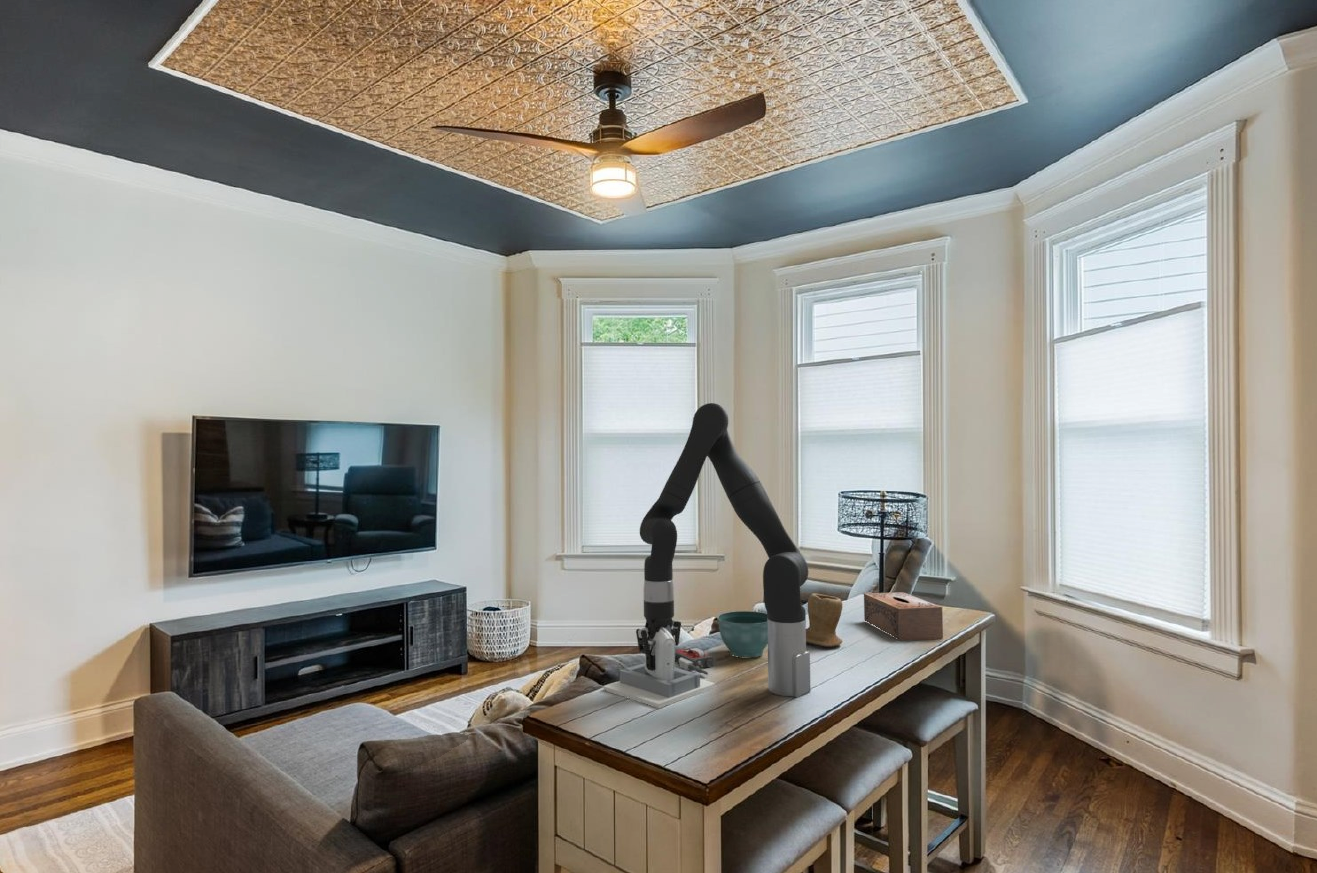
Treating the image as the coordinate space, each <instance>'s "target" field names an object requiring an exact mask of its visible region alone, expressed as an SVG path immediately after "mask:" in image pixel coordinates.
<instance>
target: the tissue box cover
mask: <svg viewBox="0 0 1317 873" xmlns="http://www.w3.org/2000/svg"><path fill="white" fill-rule="evenodd" d="M863 610H864V611H863V613H864V615H863V616H864V617H863V618H864V620H865V621H867V622H869V623H870V624H873V625H875V626H876V627H878V628H880V629H881V630H883V631H885V632H887V633H889V634H891V635H892V636H894V637H895V638H897V639H898V640H897V639H896V640H897V641H915V640H916V641H917V640H918V641H919V640H920V641H921V640H922V639H923V640H936V639H935V638H943V639H944V629H943V628H944V626H943V625H944V623H943V622H944V621H943V619H944V618H943V617H944V615H943V606H940V605H938V604H935V603H933V602H929V601H927V600H925V599H922V598H920V597H916V596H914V595H911V594H909V593H906V592H904V591H901V592H873V593H872V592H871V593H870V592H869V593H867V592H866V593H863ZM892 636H891V637H892ZM894 637H893V638H894ZM895 638H894V639H895Z"/></svg>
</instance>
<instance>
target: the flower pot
mask: <svg viewBox="0 0 1317 873" xmlns="http://www.w3.org/2000/svg"><path fill="white" fill-rule="evenodd" d="M716 617H717V622H718V629H719V635H720V637H721V640H722V642H723V643H724V645H725V646H726V648H727V649H728V651H729V652H728V653H729V654H731V655H730V656H732V655H734V656H738V657H748V658H747V659H752V658H751V657H756V658H759V656H760V657H762V655H763V653H764V650H765V648H766V647H768V624H767V612H763V611H761V612H760V611H751V610H739V611H738V610H736V611H727V612H723V613H720V614H719V615H718V616H716ZM734 656H733V657H734ZM738 657H737V658H738ZM749 657H750V658H749Z"/></svg>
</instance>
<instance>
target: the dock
mask: <svg viewBox="0 0 1317 873" xmlns="http://www.w3.org/2000/svg"><path fill="white" fill-rule="evenodd" d="M714 687H715V688H716V683H714V682H712V681H708V680H704V679H701V673H698V672H693V671H690V670H688V671H687V670H685V669H683V668H678V667H675V668H674V680H671V681H666V680H663V679H659V678H656V677H653V676H651V675H650V674H649V673H648V672H647V671H646V670H645V662H644V663H640V664H637V665H633V666H630V667H626V668H624V669H620V670H619V680H618V681H615V682H611V683H608V684H605V685H603V688H602V689H603V691H605V690H606V692H608V693H610V694H615V695H617V694H619V695H618V696H620V695H622V696H621V697H623V696H625V697H624V698H626V697H628V698H627V699H629V698H630V699H629V700H632V699H633V700H632V701H635V700H636V702H638V703H641V702H643V703H642V704H644V703H645V704H644V705H647V704H648V705H647V706H650V705H651V707H653V708H657V709H661V708H664V707H667V706H669V705H672V704H674V702H675V703H677V702H680V701H682V700H685V699H688V698H691V697H694V696H696V695H699V694H702V693H704V692H708V691H710V690H713V689H715V688H714ZM712 688H713V689H712ZM666 705H667V706H666Z"/></svg>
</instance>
